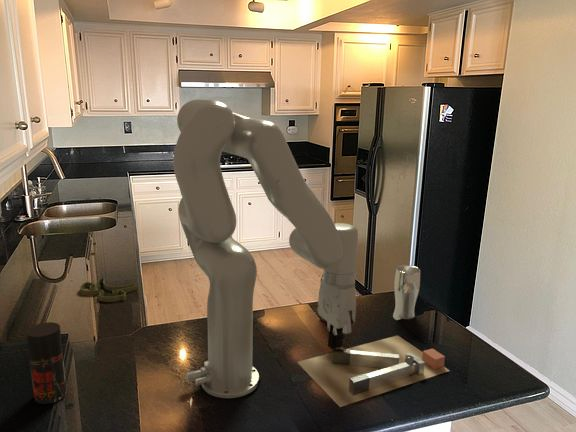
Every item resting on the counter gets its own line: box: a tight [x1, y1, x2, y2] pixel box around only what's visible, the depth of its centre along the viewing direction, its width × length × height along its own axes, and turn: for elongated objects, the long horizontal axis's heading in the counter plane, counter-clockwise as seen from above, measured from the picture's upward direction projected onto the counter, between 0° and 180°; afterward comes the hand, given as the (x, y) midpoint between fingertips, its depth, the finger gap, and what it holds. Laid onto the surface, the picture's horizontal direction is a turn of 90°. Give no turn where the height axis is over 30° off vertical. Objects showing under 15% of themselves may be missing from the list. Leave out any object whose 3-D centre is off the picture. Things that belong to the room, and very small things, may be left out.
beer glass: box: [392, 264, 421, 321], centre depth 133 cm, size 7×7×15 cm
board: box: [296, 335, 451, 408], centre depth 108 cm, size 30×18×1 cm, turn 117°
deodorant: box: [25, 321, 67, 402], centre depth 94 cm, size 6×6×15 cm
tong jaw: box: [332, 348, 399, 368], centre depth 107 cm, size 15×2×3 cm, turn 82°
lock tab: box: [422, 348, 446, 369], centre depth 109 cm, size 3×4×2 cm
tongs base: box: [349, 352, 425, 396], centre depth 102 cm, size 19×5×4 cm, turn 117°
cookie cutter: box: [79, 277, 139, 303], centre depth 146 cm, size 18×12×2 cm, turn 71°
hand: (335, 346), depth 114 cm, fingers closed
